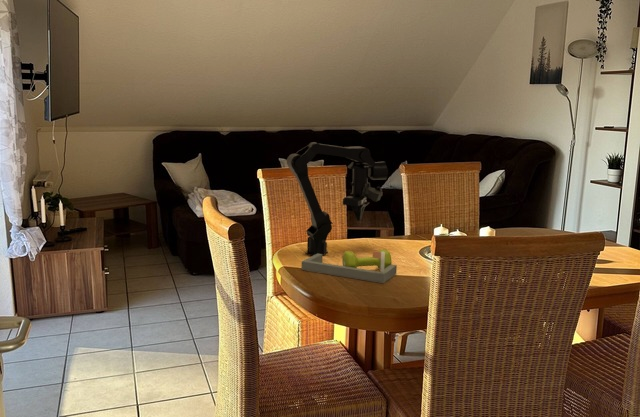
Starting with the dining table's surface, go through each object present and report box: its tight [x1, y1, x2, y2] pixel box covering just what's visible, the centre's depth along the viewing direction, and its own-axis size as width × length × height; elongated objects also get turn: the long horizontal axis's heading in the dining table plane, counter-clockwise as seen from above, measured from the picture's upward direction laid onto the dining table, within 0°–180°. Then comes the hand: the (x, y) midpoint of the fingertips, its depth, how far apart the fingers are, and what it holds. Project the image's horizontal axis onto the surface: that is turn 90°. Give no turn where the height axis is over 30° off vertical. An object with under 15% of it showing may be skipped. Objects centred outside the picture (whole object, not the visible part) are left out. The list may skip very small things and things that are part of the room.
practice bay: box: [301, 250, 398, 284], centre depth 202 cm, size 30×12×10 cm, turn 63°
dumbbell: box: [341, 249, 393, 271], centre depth 203 cm, size 16×8×7 cm, turn 103°
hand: (359, 220), depth 227 cm, fingers closed
